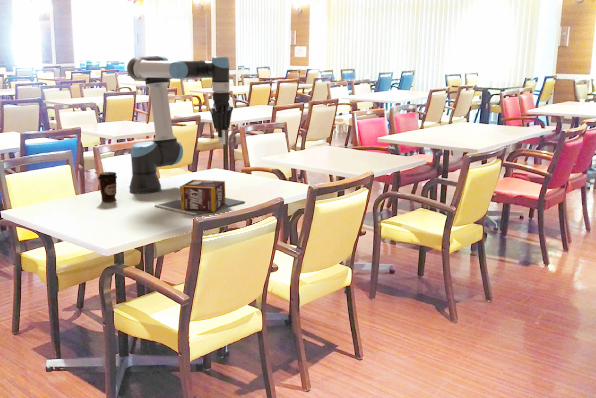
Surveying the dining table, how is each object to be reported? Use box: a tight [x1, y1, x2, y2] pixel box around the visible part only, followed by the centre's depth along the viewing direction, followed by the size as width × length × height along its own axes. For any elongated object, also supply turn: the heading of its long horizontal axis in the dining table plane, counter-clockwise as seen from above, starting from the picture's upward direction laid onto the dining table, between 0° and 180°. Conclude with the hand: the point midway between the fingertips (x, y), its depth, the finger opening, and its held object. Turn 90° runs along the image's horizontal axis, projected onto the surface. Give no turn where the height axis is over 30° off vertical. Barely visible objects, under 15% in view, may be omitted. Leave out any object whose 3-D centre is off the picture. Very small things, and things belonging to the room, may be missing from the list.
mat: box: [154, 197, 246, 217], centre depth 288 cm, size 26×30×1 cm
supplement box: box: [179, 179, 226, 212], centre depth 280 cm, size 10×15×16 cm
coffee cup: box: [97, 171, 118, 203], centre depth 294 cm, size 9×8×13 cm
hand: (222, 144), depth 293 cm, fingers closed
